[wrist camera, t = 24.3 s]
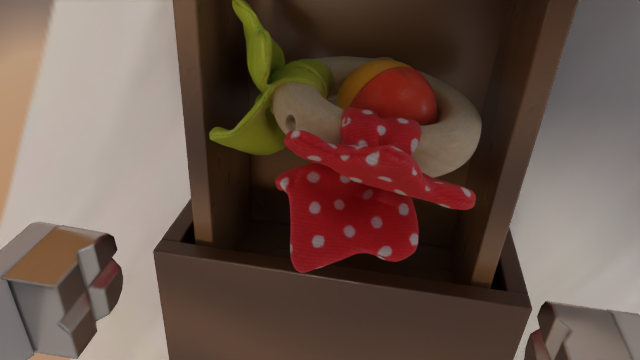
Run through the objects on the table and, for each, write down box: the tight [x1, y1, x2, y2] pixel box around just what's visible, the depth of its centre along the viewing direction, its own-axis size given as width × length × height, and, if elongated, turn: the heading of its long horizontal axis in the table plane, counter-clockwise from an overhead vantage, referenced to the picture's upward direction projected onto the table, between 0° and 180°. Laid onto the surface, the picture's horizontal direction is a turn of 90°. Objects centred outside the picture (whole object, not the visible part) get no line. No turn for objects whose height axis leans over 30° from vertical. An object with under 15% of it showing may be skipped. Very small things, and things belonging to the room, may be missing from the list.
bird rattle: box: [209, 0, 482, 273], centre depth 17 cm, size 6×11×9 cm
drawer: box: [173, 0, 579, 289], centre depth 18 cm, size 23×13×7 cm, turn 176°
